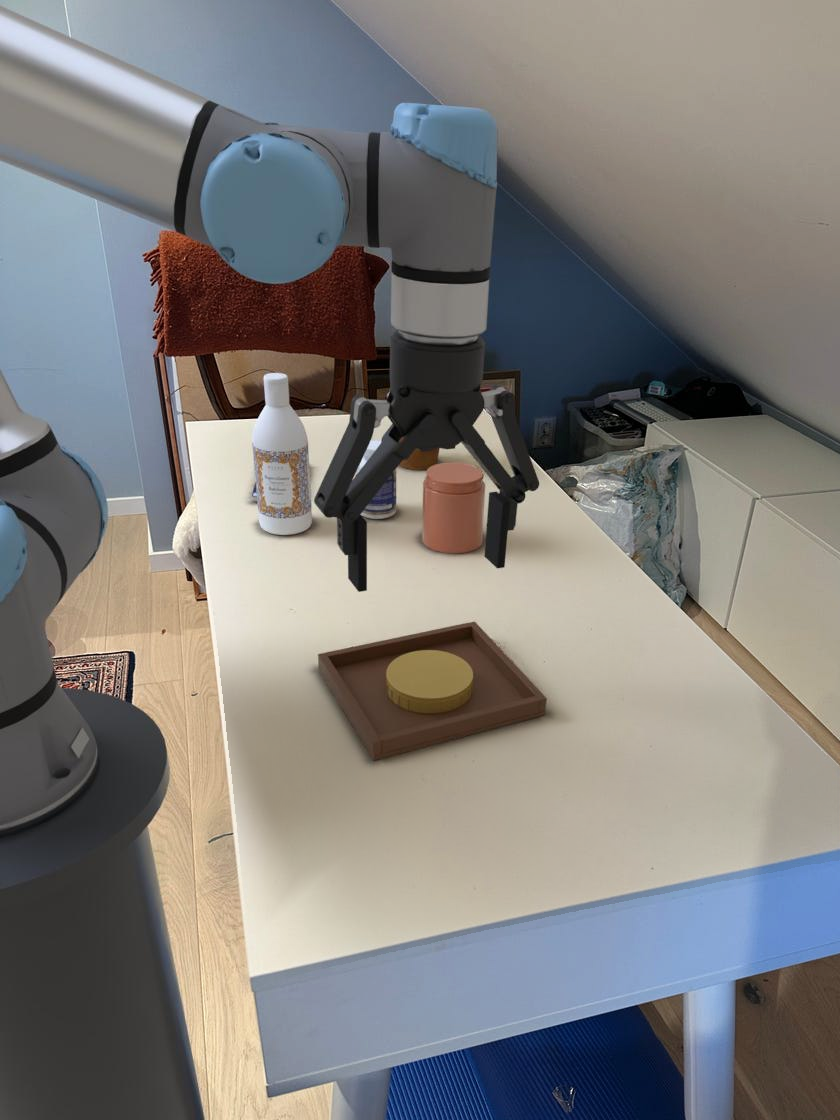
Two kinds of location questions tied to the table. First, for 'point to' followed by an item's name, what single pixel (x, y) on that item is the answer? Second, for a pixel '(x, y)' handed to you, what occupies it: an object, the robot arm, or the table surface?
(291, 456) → the bath foam
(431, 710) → the lid
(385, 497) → the pill bottle
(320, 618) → the table surface
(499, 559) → the robot arm
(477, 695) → the tray
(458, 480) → the jar
